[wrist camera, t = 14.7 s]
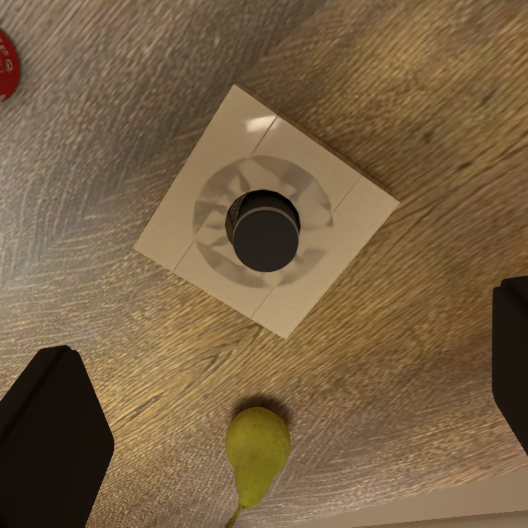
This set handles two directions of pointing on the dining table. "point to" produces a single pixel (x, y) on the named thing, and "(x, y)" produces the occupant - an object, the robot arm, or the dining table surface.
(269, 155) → the sink floor
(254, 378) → the dining table surface
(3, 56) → the beverage can
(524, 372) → the robot arm
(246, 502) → the fruit
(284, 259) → the stopper
